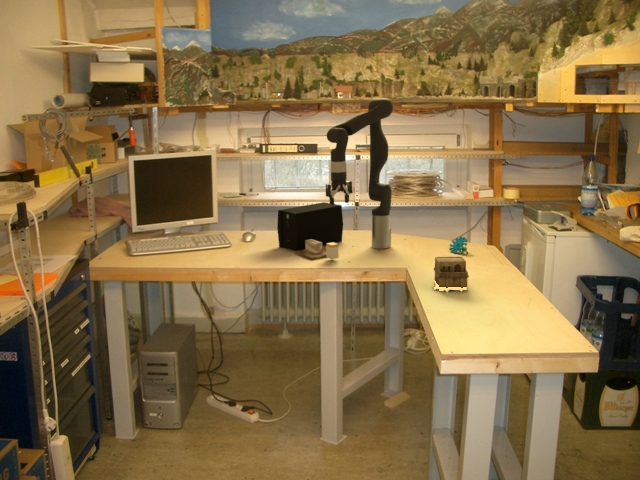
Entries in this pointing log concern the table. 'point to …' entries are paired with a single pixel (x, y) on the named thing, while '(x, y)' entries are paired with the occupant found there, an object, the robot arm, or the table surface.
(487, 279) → the table surface
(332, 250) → the orange-striped cream block
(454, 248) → the teal spiky round piece
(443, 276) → the miniature house
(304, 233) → the uninterruptible power supply
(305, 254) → the ticket board
